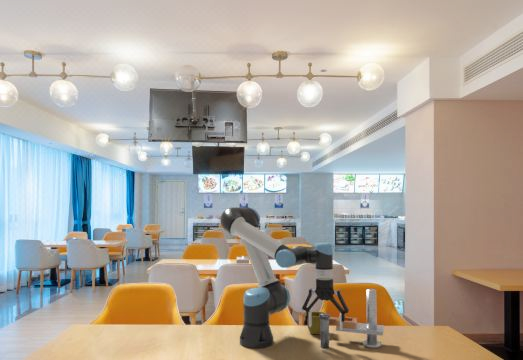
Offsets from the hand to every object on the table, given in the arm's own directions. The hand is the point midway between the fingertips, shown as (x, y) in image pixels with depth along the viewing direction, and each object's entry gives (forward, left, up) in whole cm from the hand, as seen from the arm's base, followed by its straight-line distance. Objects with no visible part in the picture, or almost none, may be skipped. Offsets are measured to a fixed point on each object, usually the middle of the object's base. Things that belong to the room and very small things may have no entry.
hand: (325, 327), depth 182 cm
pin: (0, 0, -8) cm, 8 cm away
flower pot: (-8, +18, -9) cm, 22 cm away
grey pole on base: (+11, +10, -8) cm, 17 cm away
